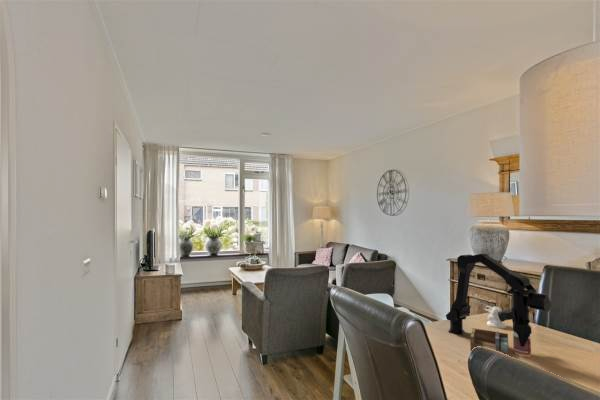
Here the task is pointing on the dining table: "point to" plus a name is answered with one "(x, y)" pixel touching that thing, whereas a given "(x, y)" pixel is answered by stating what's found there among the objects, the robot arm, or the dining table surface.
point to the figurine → (494, 317)
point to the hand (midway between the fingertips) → (521, 343)
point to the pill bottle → (520, 350)
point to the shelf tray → (489, 340)
